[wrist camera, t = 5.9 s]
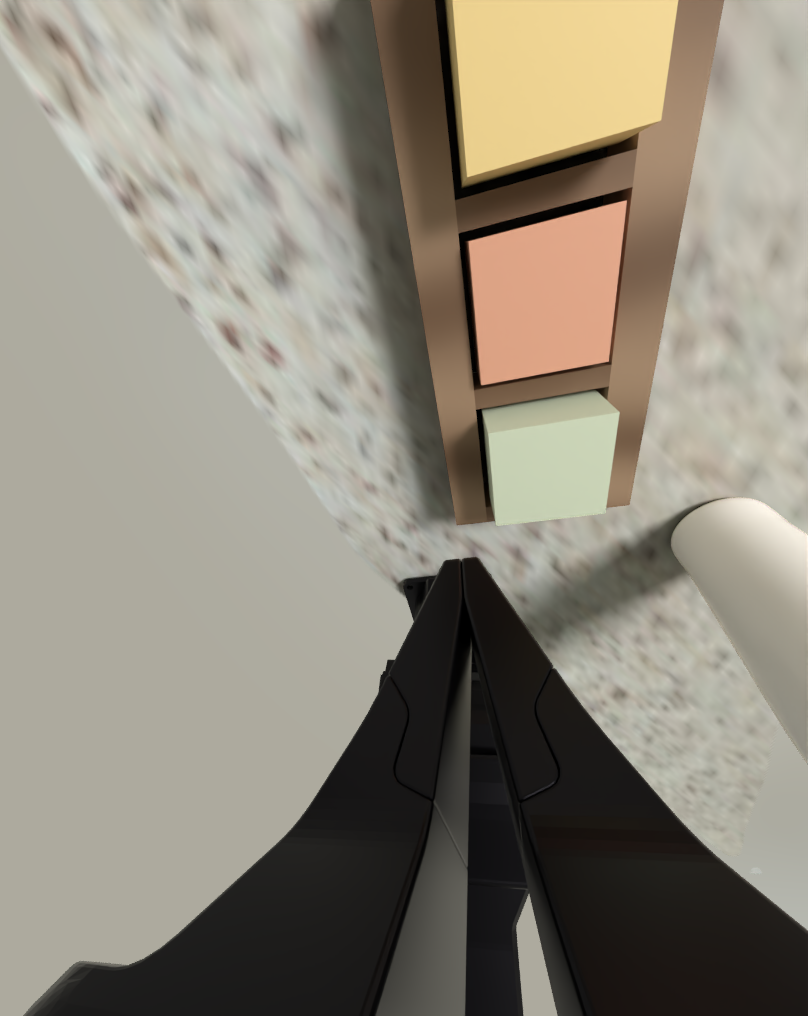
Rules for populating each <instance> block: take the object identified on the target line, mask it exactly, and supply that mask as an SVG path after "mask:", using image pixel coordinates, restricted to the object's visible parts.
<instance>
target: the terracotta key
mask: <svg viewBox="0 0 808 1016" xmlns="http://www.w3.org/2000/svg"><path fill="white" fill-rule="evenodd" d="M626 205H627V200H626V201H621V202H617V203H612V204H607V205H603V206H598V207H594V208H590V209H586V210H583V211H579V212H575V213H571V214H567V215H563V216H560V217H556V218H552V219H548V220H544V221H540V222H537V223H533V224H529V225H525V226H521V227H517V228H514V229H510V230H506V231H502V232H498V233H494V234H491V235H487V236H483V237H479V238H475V239H471V240H468V241H464V249H465V259H466V270H467V281H468V291H469V302H470V313H471V323H472V334H473V345H474V355H475V366H476V370H477V373H478V376H479V380H480V383H481V385H486V384H491V383H497V382H502V381H507V380H513V379H518V378H523V377H529V376H534V375H540V374H545V373H550V372H556V371H561V370H566V369H572V368H577V367H582V366H588V365H593V364H598V363H604V362H609V354H610V345H611V337H612V328H613V319H614V310H615V302H616V293H617V284H618V275H619V266H620V258H621V249H622V240H623V231H624V222H625V214H626Z"/></svg>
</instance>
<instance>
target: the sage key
mask: <svg viewBox="0 0 808 1016" xmlns="http://www.w3.org/2000/svg"><path fill="white" fill-rule="evenodd" d="M619 414H620V412H619V411H618V410H617V409H616V408H615V407H614V406H613V405H611V404H610V403H609V402H608V401H607V400H606V399H605V398H604V397H603V396H602V395H601V394H600V393H599V392H597V391H596V390H595V389H593V390H587V391H582V392H576V393H570V394H565V395H559V396H553V397H547V398H542V399H536V400H530V401H525V402H519V403H513V404H507V405H502V406H496V407H490V408H485V409H482V419H483V430H484V441H485V452H486V463H487V474H488V485H489V496H490V500H491V505H492V510H493V515H494V519H495V524H496V526H501V525H510V524H519V523H527V522H536V521H545V520H553V519H562V518H571V517H579V516H588V515H597V514H605V512H606V505H607V498H608V491H609V484H610V477H611V470H612V463H613V456H614V449H615V442H616V435H617V428H618V421H619Z"/></svg>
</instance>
